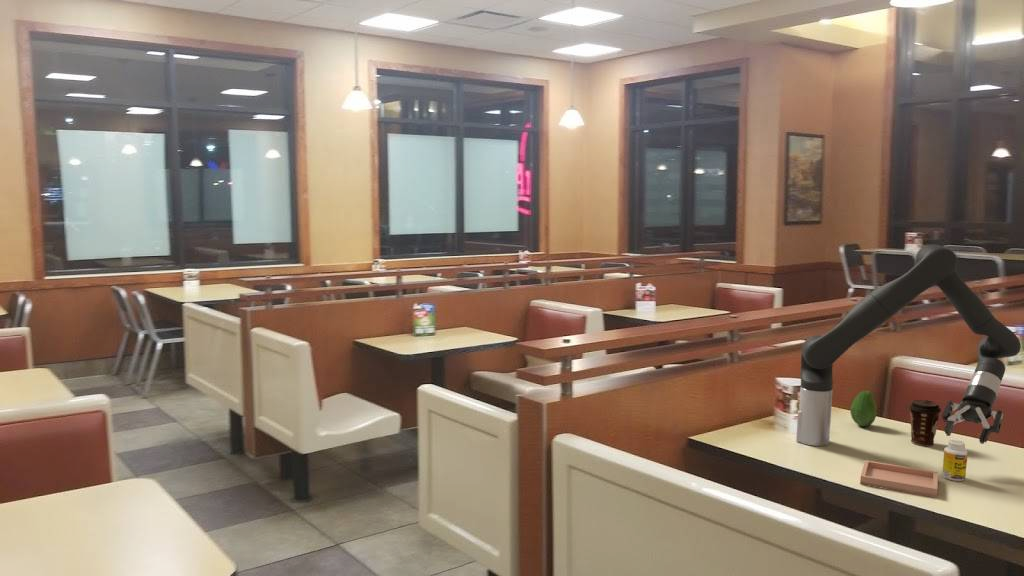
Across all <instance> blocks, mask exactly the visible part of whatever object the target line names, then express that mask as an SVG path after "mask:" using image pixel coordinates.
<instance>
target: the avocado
mask: <svg viewBox="0 0 1024 576" xmlns="http://www.w3.org/2000/svg"><path fill="white" fill-rule="evenodd" d="M877 410H878V409H877V406H876V402H875V399H874V395H873V394H872V393H871V391H868V390H862V391H860V392H859V393H857V395H856V396H855V398H854V399H853V402H852V404H851V406H850V416H851V419H852V421H854V423H855V424H856V425H858V426H860V427H864V426H865V427H868V426H871V425H872V424H873V423H874V422H875V420H876V418H877V413H878V412H877Z"/></svg>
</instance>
